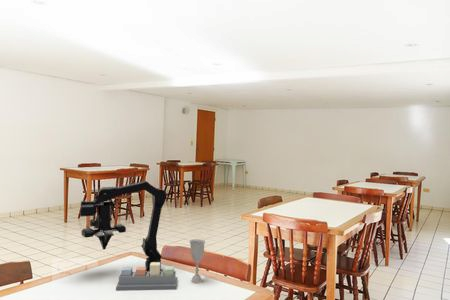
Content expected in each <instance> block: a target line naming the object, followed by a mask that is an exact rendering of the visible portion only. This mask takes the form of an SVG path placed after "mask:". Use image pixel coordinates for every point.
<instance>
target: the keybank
mask: <svg viewBox="0 0 450 300" xmlns="http://www.w3.org/2000/svg"><path fill="white" fill-rule="evenodd" d="M176 273H177V271H176V270H174V275H168V276H164V270H162V271H160V276H150V271H149V272H147V271H146V276H136V271H132V276H121V273H119V275H118V283H117V284H116V286H115V291H152V290H153V291H157V290H162V291H163V290H167V291H168V290H177V289H178V276H176V275H177V274H176Z"/></svg>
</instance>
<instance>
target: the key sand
mask: <svg viewBox="0 0 450 300" xmlns="http://www.w3.org/2000/svg"><path fill="white" fill-rule="evenodd" d="M150 276H160V262H151V264H150Z"/></svg>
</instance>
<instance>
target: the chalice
mask: <svg viewBox="0 0 450 300" xmlns="http://www.w3.org/2000/svg"><path fill="white" fill-rule="evenodd" d="M188 242H189V243H190V255H191V257H192V260H193V261H194V262H195V270H194V271H195V275H193V276H192V279H191V280H190V282H191V283H193V284H200V283H202V282H203V279H202V276H201V275H200V274H199V271H200V270H199V266H200V265H199V262H201V261H202V259H203V256H204V254H205V243H206V240H204V239H201V238H197V239H195V238H194V239H190V240H189V241H188Z"/></svg>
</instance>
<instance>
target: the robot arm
mask: <svg viewBox="0 0 450 300" xmlns="http://www.w3.org/2000/svg"><path fill="white" fill-rule="evenodd" d="M140 191H146V192H147V193H149V194H151V197H152V198H151V199H152V200H151V201H152V208H151V209H152V210H151V215H150V220H149V225H148V226H149V227H148V232H147V236H145V237H146V238H143V237H142V244H141V248H142V251H143V253H144V254H145V256H146V258H145V259H146V260H145V266H144V267H146V272H149V271H150V264H151V262H160V271H163V269H162V254H161V253H160V252H159V250H158V243H157V235H158V230H159V226H160V225H159V224H160V218H161V213H162V208H163V207H164V204H165V202H166V199H167V198H168V197H167V196H168V194H167V192H166V191H165V190H164V189H162V188H159V187H158V188H157V187H155V186H153V185H152V184H150V183H149V182H148V181H146V180H142V181H140V182H135V183H130V184H125V185H121V186H106V187H105V186H103V187H100V189H98V191H97V195H96V196H95V198H94V199H93V200H89V201H85V200H81V202H80V211H79V212H80V214H79V215H80V217H81V218H82V217H94V216H95V215H96V214H97V216H96V220H95V218H92V219H90V220H89V228H82V230H81V236H82V237H83V238H93V237H94V236H95V237H96V238H98V240H99V242H100V246H101V248H102V250H104V251H105V250H106V249H107V246H108V245H109V242H110V240H111V238H112V237H113V236H114V235H115V234H114V232H118V233H119V234H121V233H122V234H123V233H127V228H126V226H125V225H124V224H121V223H120V224H114V225H113V226H112V225H111V223H112V221H113V220H112V219H113V218H112V207H113V206H116V203H115V202H114V201H113V199H115V198H117V197H120V196H124V195H128V194H133V193H136V192H140ZM92 227H93V228H92Z"/></svg>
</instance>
